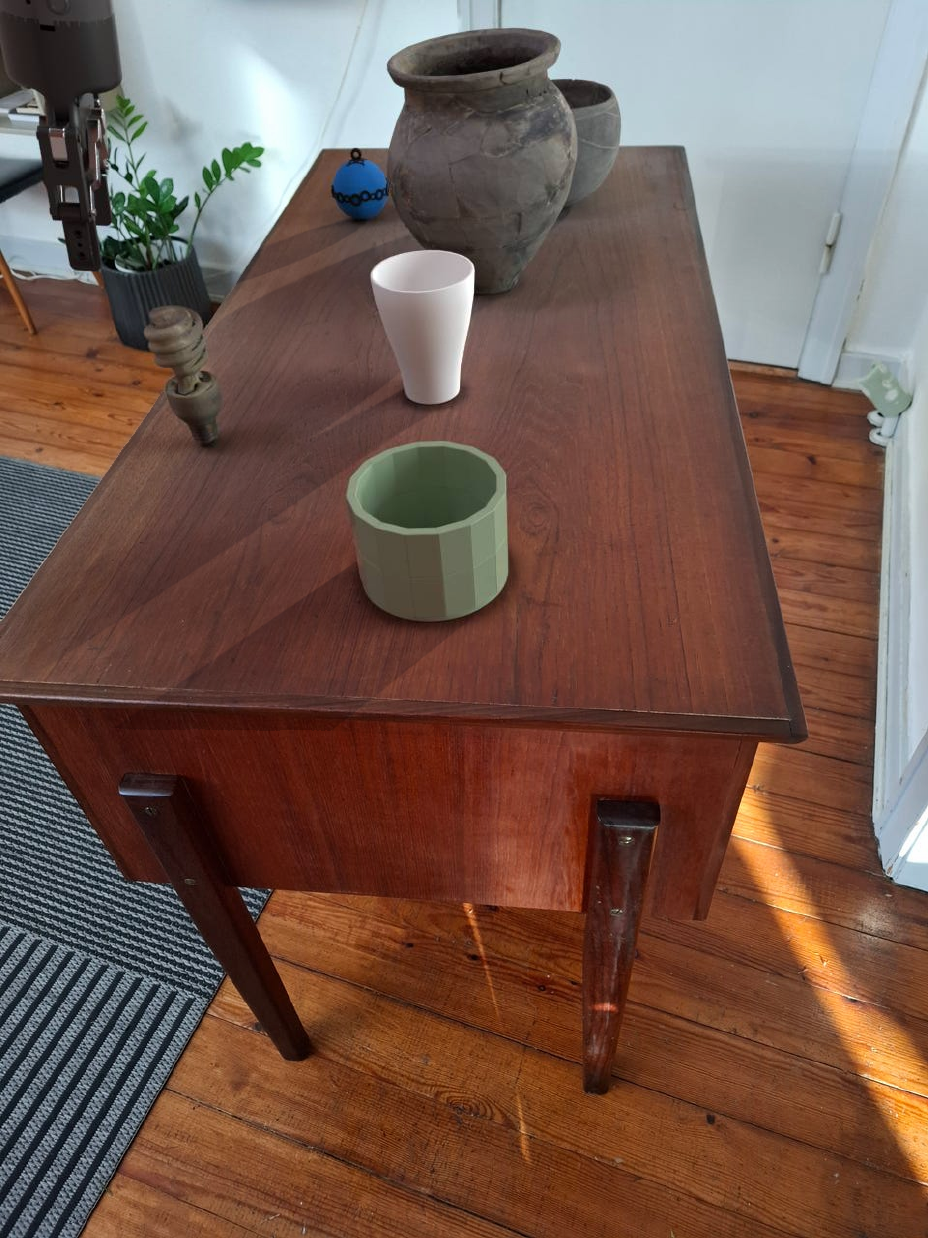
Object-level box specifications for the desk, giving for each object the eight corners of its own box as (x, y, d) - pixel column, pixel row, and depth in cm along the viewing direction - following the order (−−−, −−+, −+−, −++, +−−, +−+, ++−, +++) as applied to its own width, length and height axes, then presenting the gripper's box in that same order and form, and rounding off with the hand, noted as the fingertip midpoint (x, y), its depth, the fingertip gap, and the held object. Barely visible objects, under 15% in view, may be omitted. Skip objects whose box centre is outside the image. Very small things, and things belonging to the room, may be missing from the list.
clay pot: (574, 292, 123) (568, 44, 114) (589, 277, 99) (582, -39, 90) (406, 303, 124) (388, 60, 116) (381, 291, 100) (356, -18, 92)
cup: (463, 421, 94) (455, 296, 85) (371, 409, 97) (354, 287, 87) (491, 373, 101) (487, 253, 92) (404, 363, 104) (392, 246, 94)
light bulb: (233, 456, 91) (194, 316, 81) (179, 463, 91) (133, 323, 81) (235, 427, 96) (199, 291, 85) (184, 433, 95) (141, 297, 85)
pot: (387, 639, 71) (373, 552, 65) (345, 548, 80) (329, 463, 73) (532, 595, 74) (531, 508, 68) (476, 512, 82) (471, 427, 76)
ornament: (394, 207, 141) (387, 138, 134) (387, 227, 135) (379, 156, 128) (341, 208, 142) (331, 140, 135) (331, 229, 136) (321, 158, 129)
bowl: (604, 174, 147) (610, 70, 137) (629, 221, 132) (637, 107, 121) (478, 184, 147) (473, 80, 136) (488, 232, 132) (484, 119, 121)
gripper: (10, -28, 63) (54, 208, 74) (-31, 20, 53) (26, 283, 65) (122, -16, 65) (149, 213, 76) (102, 33, 55) (136, 288, 66)
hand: (92, 245), depth 70 cm, fingers open, 8 cm apart
